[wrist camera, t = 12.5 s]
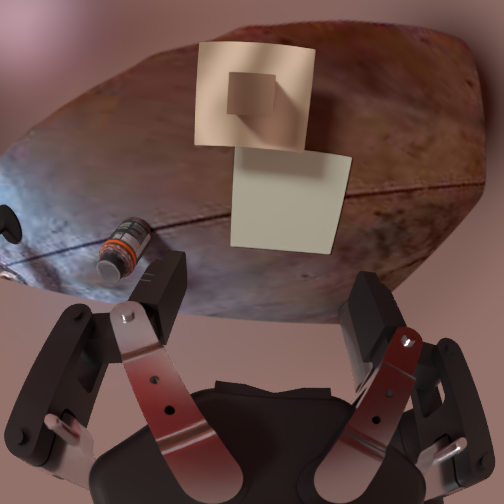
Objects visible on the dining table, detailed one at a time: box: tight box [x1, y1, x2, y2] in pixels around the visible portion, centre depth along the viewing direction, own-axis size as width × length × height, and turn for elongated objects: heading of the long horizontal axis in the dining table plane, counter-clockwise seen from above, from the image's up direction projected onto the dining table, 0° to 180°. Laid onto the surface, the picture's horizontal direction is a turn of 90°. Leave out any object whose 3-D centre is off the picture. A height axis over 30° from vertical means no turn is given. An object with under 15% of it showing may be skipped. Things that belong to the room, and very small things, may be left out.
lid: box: [195, 42, 315, 153], centre depth 23 cm, size 12×12×6 cm
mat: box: [231, 146, 352, 254], centre depth 38 cm, size 16×16×1 cm
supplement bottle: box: [96, 218, 152, 284], centre depth 38 cm, size 6×6×11 cm
